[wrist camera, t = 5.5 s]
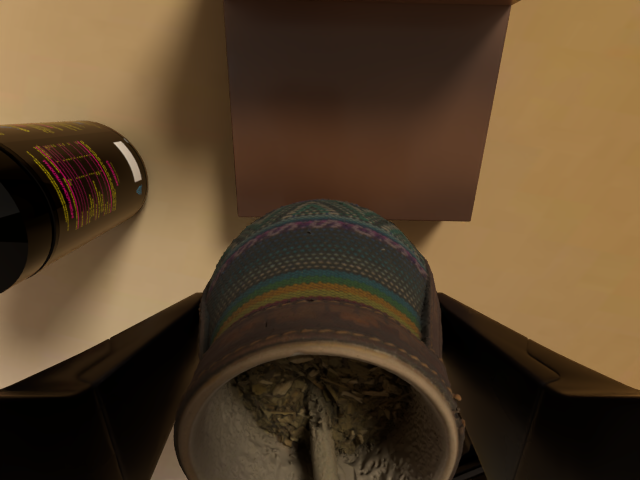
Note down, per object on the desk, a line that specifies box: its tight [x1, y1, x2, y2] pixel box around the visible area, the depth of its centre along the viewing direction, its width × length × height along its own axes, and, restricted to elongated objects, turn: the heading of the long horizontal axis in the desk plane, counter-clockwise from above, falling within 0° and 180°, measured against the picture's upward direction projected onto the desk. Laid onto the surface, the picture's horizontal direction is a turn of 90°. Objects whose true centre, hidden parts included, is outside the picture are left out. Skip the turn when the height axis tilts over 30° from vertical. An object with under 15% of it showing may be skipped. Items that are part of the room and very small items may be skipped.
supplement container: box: [0, 121, 148, 293], centre depth 18 cm, size 7×7×10 cm
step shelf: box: [223, 0, 520, 221], centre depth 17 cm, size 16×14×8 cm
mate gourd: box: [174, 198, 465, 480], centre depth 9 cm, size 7×8×10 cm
